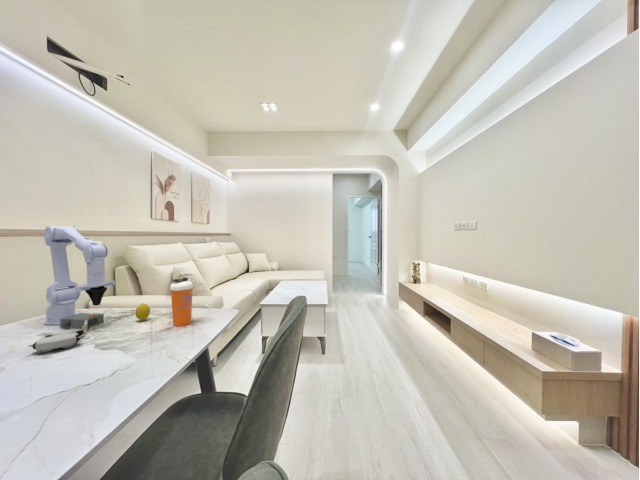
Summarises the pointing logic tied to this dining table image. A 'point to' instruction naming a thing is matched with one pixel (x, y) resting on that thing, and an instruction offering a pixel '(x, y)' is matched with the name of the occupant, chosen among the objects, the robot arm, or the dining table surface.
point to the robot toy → (58, 340)
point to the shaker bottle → (181, 301)
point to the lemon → (142, 311)
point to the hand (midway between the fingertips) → (96, 305)
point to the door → (85, 326)
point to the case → (81, 320)
